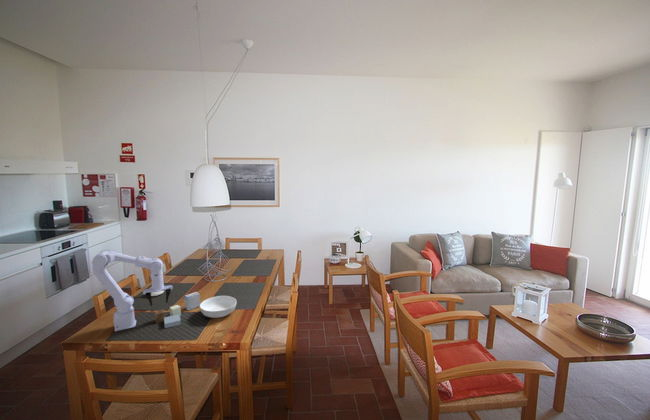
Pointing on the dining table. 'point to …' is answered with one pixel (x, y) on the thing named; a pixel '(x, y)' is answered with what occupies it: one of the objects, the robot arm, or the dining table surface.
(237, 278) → the dining table surface
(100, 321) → the dining table surface
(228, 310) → the serving bowl
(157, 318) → the walnut block
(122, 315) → the robot arm
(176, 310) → the sage block
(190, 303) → the medicine box
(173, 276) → the dining table surface
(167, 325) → the base block
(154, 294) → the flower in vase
